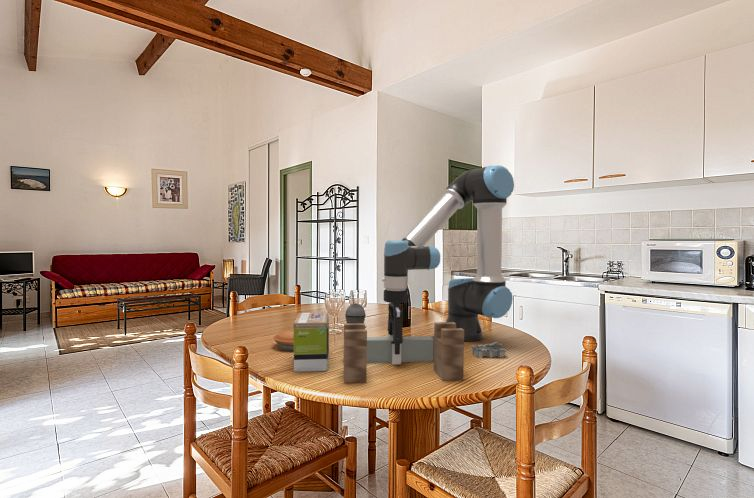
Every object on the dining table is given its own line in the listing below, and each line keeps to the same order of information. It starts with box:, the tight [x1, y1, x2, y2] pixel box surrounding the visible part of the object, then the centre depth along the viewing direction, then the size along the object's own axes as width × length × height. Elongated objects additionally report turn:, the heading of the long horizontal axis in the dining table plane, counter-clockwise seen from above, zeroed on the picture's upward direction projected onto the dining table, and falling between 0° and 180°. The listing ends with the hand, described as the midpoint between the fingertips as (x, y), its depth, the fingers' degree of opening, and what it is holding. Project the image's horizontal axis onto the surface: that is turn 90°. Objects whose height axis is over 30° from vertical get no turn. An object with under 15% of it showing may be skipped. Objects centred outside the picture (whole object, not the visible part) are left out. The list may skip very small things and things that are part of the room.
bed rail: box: [367, 335, 434, 364], centre depth 132 cm, size 32×4×7 cm, turn 96°
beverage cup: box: [344, 290, 366, 323], centre depth 145 cm, size 7×7×20 cm
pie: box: [272, 329, 294, 352], centre depth 147 cm, size 16×16×5 cm
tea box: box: [292, 311, 330, 373], centre depth 127 cm, size 15×10×15 cm, turn 5°
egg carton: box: [470, 341, 507, 358], centre depth 139 cm, size 11×8×4 cm
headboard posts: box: [343, 321, 465, 384], centre depth 118 cm, size 33×10×14 cm, turn 96°
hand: (394, 359), depth 132 cm, fingers open, 9 cm apart
